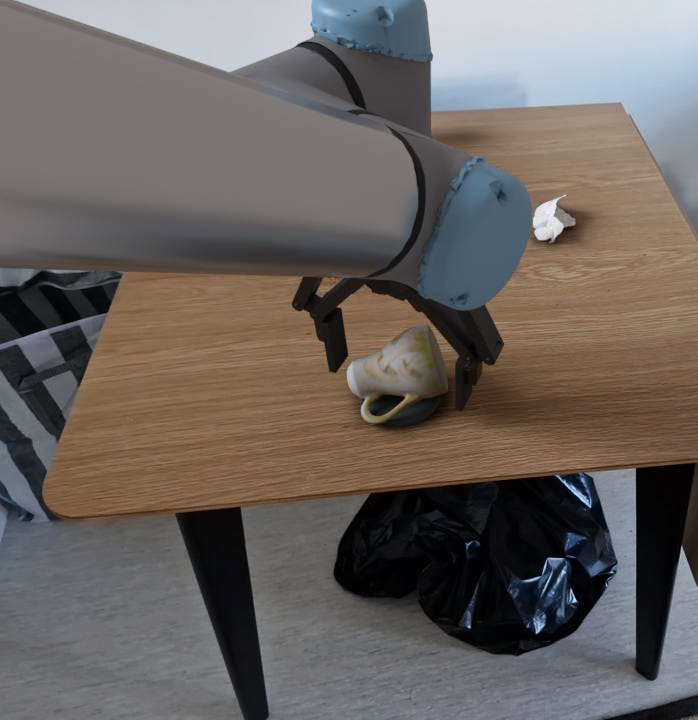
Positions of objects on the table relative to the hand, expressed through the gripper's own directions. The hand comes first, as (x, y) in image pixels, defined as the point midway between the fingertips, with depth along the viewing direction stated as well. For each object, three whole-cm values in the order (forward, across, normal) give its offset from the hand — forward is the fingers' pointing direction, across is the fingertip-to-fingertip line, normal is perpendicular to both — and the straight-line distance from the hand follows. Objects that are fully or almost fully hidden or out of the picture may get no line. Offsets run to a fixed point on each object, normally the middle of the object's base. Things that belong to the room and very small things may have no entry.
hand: (400, 382), depth 72 cm
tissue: (+2, -6, -34) cm, 35 cm away
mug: (+2, 0, 0) cm, 2 cm away
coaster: (+2, 0, 0) cm, 2 cm away
